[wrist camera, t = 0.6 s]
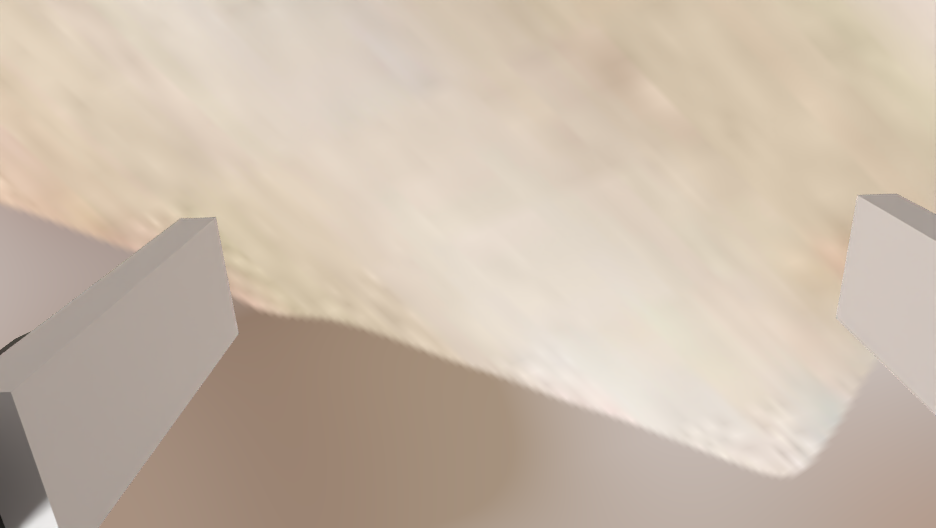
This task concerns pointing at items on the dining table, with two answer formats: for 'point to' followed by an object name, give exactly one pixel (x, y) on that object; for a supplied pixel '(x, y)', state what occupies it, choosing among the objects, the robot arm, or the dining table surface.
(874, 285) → the robot arm
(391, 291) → the dining table surface
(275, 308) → the dining table surface
